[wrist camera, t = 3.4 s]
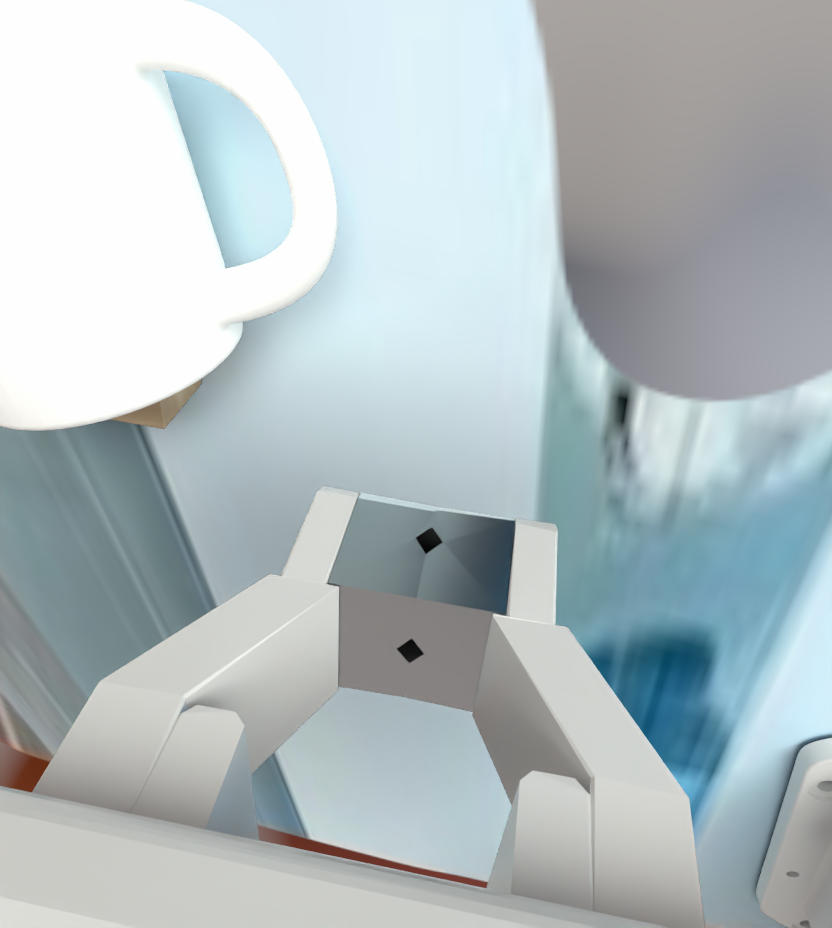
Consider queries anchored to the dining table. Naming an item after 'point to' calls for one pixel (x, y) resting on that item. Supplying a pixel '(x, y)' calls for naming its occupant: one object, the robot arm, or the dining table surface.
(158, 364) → the mug
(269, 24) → the dining table surface
